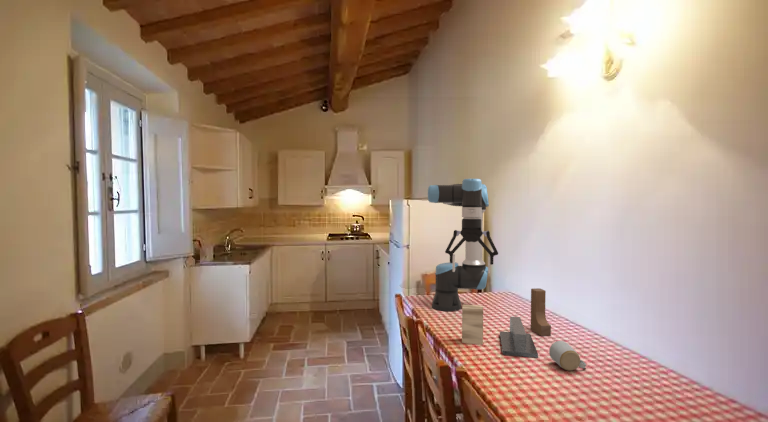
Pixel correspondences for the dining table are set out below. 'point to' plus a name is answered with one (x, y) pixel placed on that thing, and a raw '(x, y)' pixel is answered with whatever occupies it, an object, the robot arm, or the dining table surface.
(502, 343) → the gray t-shaped block
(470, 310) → the birch post
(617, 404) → the dining table surface
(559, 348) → the ceramic mug
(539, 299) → the wooden block
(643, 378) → the dining table surface
